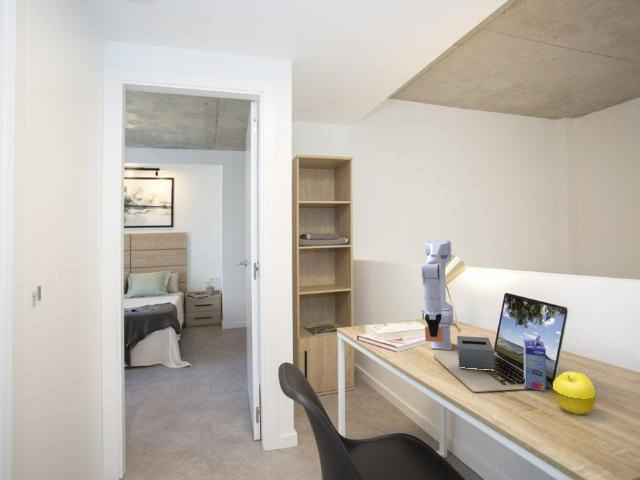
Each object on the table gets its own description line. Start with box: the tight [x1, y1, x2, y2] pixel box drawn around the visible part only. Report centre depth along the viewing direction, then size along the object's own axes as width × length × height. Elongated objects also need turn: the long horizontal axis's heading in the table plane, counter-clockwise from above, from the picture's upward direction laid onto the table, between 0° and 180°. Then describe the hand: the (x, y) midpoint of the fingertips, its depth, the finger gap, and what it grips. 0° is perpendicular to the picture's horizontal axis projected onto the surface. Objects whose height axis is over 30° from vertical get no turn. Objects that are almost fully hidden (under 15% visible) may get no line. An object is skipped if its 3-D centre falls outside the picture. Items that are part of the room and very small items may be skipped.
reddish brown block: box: [424, 325, 443, 343], centre depth 124 cm, size 2×6×5 cm, turn 70°
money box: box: [456, 335, 496, 370], centre depth 125 cm, size 16×11×7 cm
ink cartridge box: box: [523, 335, 547, 392], centre depth 105 cm, size 10×6×14 cm, turn 152°
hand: (433, 335), depth 124 cm, fingers closed on reddish brown block, 2 cm apart
